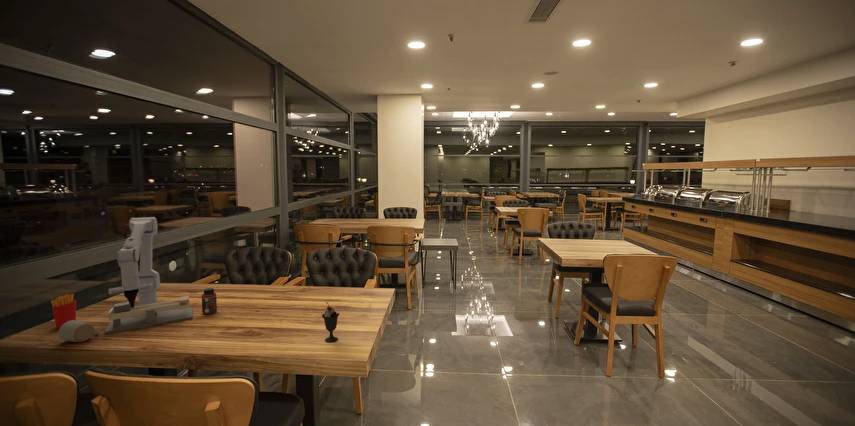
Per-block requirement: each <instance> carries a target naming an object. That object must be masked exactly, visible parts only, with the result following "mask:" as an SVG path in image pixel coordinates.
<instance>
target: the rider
mask: <svg viewBox="0 0 855 426" xmlns="http://www.w3.org/2000/svg"><path fill="white" fill-rule="evenodd" d="M113 308H114V314H115V313H122V312H128V311H131V306H130V303H129V301H128V300H127V301H123V302H117V303H114V305H113Z"/></svg>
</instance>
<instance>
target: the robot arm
mask: <svg viewBox="0 0 855 426" xmlns="http://www.w3.org/2000/svg"><path fill="white" fill-rule="evenodd" d="M128 227H129V230H130V231H131V234H130V236H129V237H127V238H126V239H125V242H124V244H123V246H122V248H121V249H120V250H118V251H117V253H116V254H117V255H116V259H117V262H118V266H119V268H120V274H121V285H122V286H118V287H111V288H108V295H112V294H119V293H123V296H124V297H125V298H126V300H127V302H128V301H129V303H130V306H131V308H134V307H135V303H136V298H137V300H138V301H137V302H138V306H141V305H147V304H153V303H158V294H157V293H158V292H157V290H158V289H159V288H160V285H161V278H160V273H159V272H158V271H155V270H154V269H153V244H154V243H153V241H154V240H153V239H154V236H156V235H158V228H159V227H158V220H157V218H156V217H155V216H152V217H131V218H130V219H129V223H128ZM139 260H140V261H139ZM138 261H139V265H138Z"/></svg>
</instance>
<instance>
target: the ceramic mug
mask: <svg viewBox="0 0 855 426" xmlns="http://www.w3.org/2000/svg"><path fill="white" fill-rule="evenodd" d="M99 332H100V331H99V330H98V329H97V330H96V329H95V328H94V326H93V324H91V323H88V322H85V321H84V322H83V321H78V320H76V321H75V320H72V321H68V322H66V323H64V324H63V325H62V326H61V328H58V333H57V334H58V337H59V339H60V340H61V341H65V342H71V343H72V342H73V343H83V342H87V341H88V340H89V339H90V338H91V337H92V336H97V335H98V334H99Z"/></svg>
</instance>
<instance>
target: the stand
mask: <svg viewBox="0 0 855 426" xmlns="http://www.w3.org/2000/svg"><path fill="white" fill-rule="evenodd" d="M153 304H154V303H153ZM190 320H193V307H187V308H181V309H175V310H169V311H163V312H157V313H155V309H150V310H146V314H145V315H139V316H133V317H127V318H121V319H115V320H110V322H109V324H108V325H107V327H106V329H105V330H104V335H107V334H114V333H118V332H119V333H120V332H126V331H132V330H137V329H142V328H149V327H154V326H160V325H164V324H171V323H172V324H173V323H178V322H184V321H190Z"/></svg>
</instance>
